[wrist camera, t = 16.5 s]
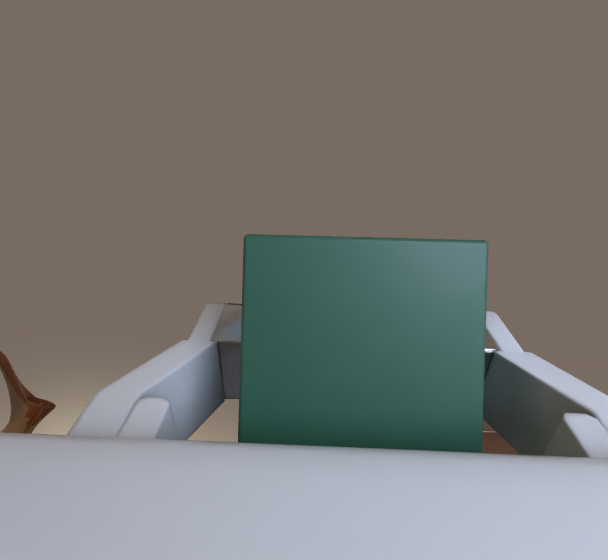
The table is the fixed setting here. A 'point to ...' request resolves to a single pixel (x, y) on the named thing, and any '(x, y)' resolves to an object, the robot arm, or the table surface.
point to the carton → (363, 342)
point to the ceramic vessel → (22, 403)
